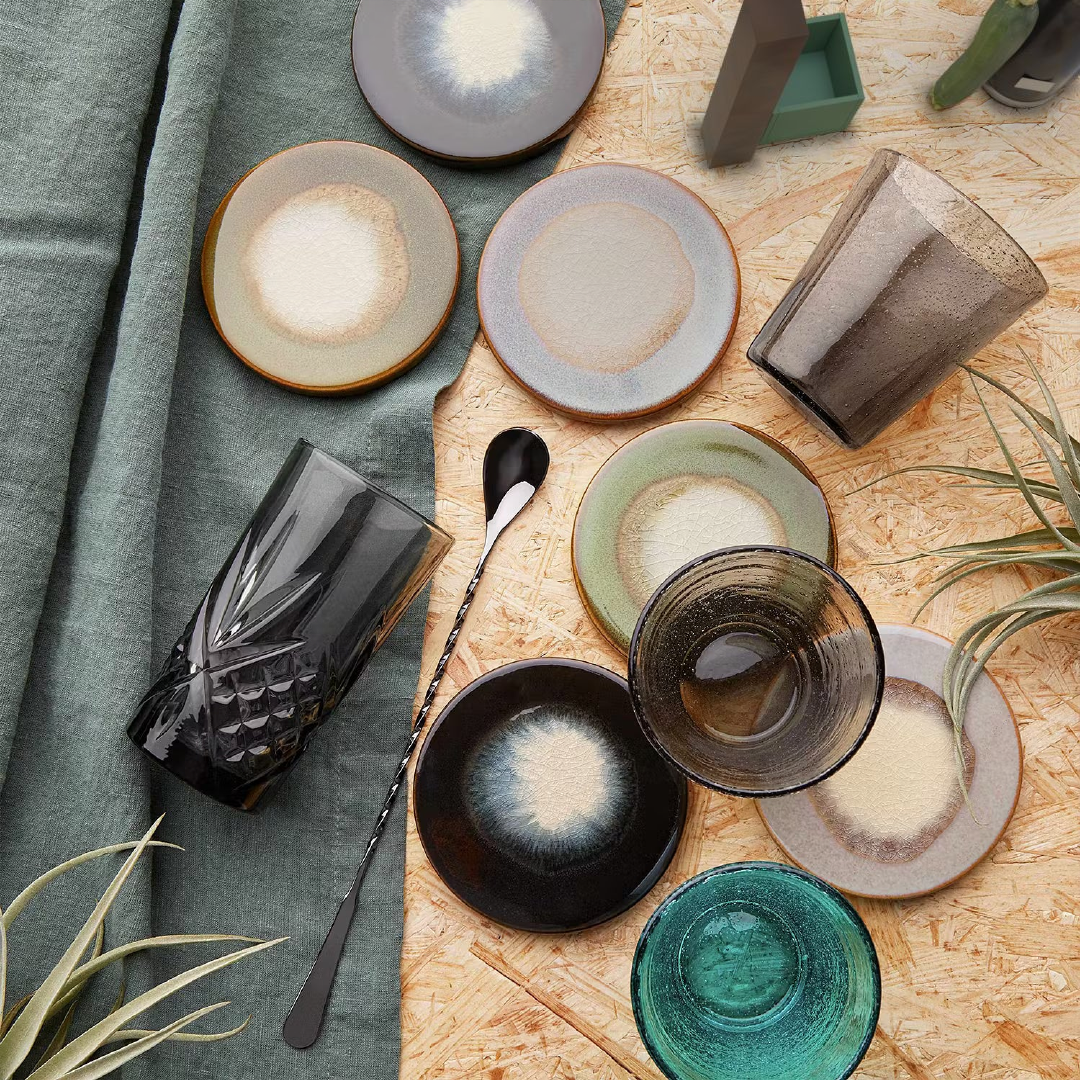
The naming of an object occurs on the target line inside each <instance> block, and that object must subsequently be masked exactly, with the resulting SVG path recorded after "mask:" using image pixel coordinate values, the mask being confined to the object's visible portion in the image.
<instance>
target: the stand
mask: <svg viewBox="0 0 1080 1080" xmlns="http://www.w3.org/2000/svg"><path fill="white" fill-rule="evenodd" d="M806 18H807V17H806V14H805V11H804V5H803V1H802V0H742V4H741V7H740V10H739V12H738V16H737V18H736V21H735V23H734V28H733V30H732V33H731V36H730V40H729V42H728V45H727V48H726V51H725V54H724V57H723V61H722V63H721V66H720V69H719V72H718V74H717V78H716V81H715V84H714V86H713V89H712V93H711V96H710V98H709V101H708V105H707V108H706V111H705V114H704V117H703V120H702V122H701V125H700V128H699V129H700V134H701V139H702V144H703V149H704V153H705V157H706V162H707V167H708V169H709V170H710V169H715V168H716V169H717V168H721V167H726V166H727V167H728V166H733V165H739V164H744V163H749V162H752V159H753V157H754V155H755V153H756V151H757V148H758V146H759V142H760V140H761V138H762V136H763V133H764V131H765V129H766V127H767V125H768V123H769V120H770V118H771V116H772V114H773V112H774V110H775V108H776V105H777V103H778V101H779V99H780V97H781V95H782V92H783V90H784V88H785V86H786V84H787V82H788V79H789V77H790V75H791V73H792V71H793V69H794V67H795V64H796V62H797V60H798V58H799V56H800V54H801V51H802V49H803V47H804V45H805V43H806V41H807V38H808V36H809V31H808V27H807V23H806Z"/></svg>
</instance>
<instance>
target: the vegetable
mask: <svg viewBox="0 0 1080 1080" xmlns="http://www.w3.org/2000/svg"><path fill="white" fill-rule="evenodd" d="M1038 15H1039V8H1038V4H1037V0H994V1H992V3H991V4H990V6H989V8H988V9H987V11H986V12H985V14H984V16H983V17H982V19H981V22H980V24H979V27H978V29H977V31H976V33H975V35H974V38H973V41H971V43H970V45H969V46H968V48H967V49H966V50H965V51H964V52H963V53H962V54H961V55H960V56H959V57H958V58H956V59H955V60H954V61H953V62H952V63H951V65H950V66H949V67H948V68H947V69H946V70H945V71H944V72H943V73H942V74H941V76H940V77H938V79H937V80H936V82H935V84H934V86H932V87H931V88H930V89H929V90H930V91H929V94H930V97H931V104H932V105H934V110H940V109H941V110H942V109H943V108H945V109H947V108H951V107H954V106H956V105H958V104H960V103H962V102H963V101H965V100H967V99H968V98H969V97H971V96H972V95H973V94H975V93H976V92H978V90H979V89H980V88H982V87H983V86H982V85H983V84H984V83H985V82H986V81H987V80H988V79H989V78H990V77H991V76H992V75H993V74H994V73H995V72H996V71H997V70H998V69H999V68H1000V67H1001V66H1002V65H1003V64H1004V63H1005V62H1006V61H1007V60H1008V59H1009V58H1010V57H1011V56H1012V55H1013V54H1014V53H1015V52H1016V51H1017V50H1018V49H1019V48H1020V46H1021V45H1022V44H1023V43H1024V41H1025V40H1026V39H1027V37H1028V36H1029V35H1030V33H1031V31H1032V30H1033V27H1034V25H1035V23H1036V21H1037V18H1038Z"/></svg>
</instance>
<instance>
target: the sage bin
mask: <svg viewBox="0 0 1080 1080" xmlns="http://www.w3.org/2000/svg"><path fill="white" fill-rule="evenodd" d="M805 18H806V23H807V27H808V31H809V36H808V38H807V41H806V43H805V45H804V47H803V49H802V51H801V54H800V56H799V58H798V60H797V62H796V64H795V67H794V69H793V71H792V73H791V75H790V77H789V79H788V82H787V84H786V86H785V88H784V90H783V92H782V95H781V97H780V99H779V101H778V103H777V105H776V108H775V110H774V112H773V114H772V116H771V118H770V120H769V123H768V125H767V127H766V129H765V131H764V133H763V136H762V138H761V140H760V142H759V144H758V146H759V145H767V144H772V143H778V142H783V141H784V142H785V141H789V140H795V139H801V138H807V137H812V136H818V135H824V134H830V133H836V132H842V131H846V130H847V128H848V127H849V125H850V124H851V122H852V120H853V119H854V117H855V116H856V114H857V112H858V111H859V109H860V107H862V105H863V103H864V101H865V99H866V96H865V92H864V88H863V83H862V80H861V79H862V78H861V76H860V71H859V67H858V63H857V58H856V55H855V50H854V46H853V43H852V38H851V34H850V30H849V26H848V21H847V17H846V13H845V11H842V12H836V13H831V14H824V15H818V16H812V17H805Z"/></svg>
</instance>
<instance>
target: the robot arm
mask: <svg viewBox="0 0 1080 1080" xmlns="http://www.w3.org/2000/svg"><path fill="white" fill-rule="evenodd" d="M1037 4H1038V8H1039V15H1038V18H1037V21H1036V23H1035V25H1034V27H1033V30H1032V31H1031V33H1030V35H1029V36H1028V37H1027V39H1026V40H1025V41H1024V43H1023V44H1022V45H1021V46H1020V48H1019V49H1018V50H1017V51H1016V52H1015V53H1014V54H1013V55H1012V56H1011V57H1010V58H1009V59H1008V60H1007V61H1006V62H1005V63H1004V64H1003V65H1002V66H1001V67H1000V68H999V69H998V70H997V71H996V72H995V73H994V74H993V75H992V76H991V77H990V78H989V79H988V80H987V81H986V82H985V83H984V84H983V85H982V86H981V87H982V88H983V89H984V90H985V92H986V93H988V95H989V96H991V98H993V99H995V100H996V101H997V102H999V103H1001V104H1003V105H1005V106H1008V107H1013V108H1018V109H1028V108H1034V107H1038V106H1040V105H1043V104H1045V103H1047V102H1048V101H1049V100H1051V99H1053V97H1055V95H1056V94H1057V93H1059V91H1060V90H1061V89H1062V88H1066V87H1069V86H1070V85H1071V84H1072V83H1073V82H1074V81H1075V80H1076V79H1077V78H1078V77H1079V76H1080V0H1037Z"/></svg>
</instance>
